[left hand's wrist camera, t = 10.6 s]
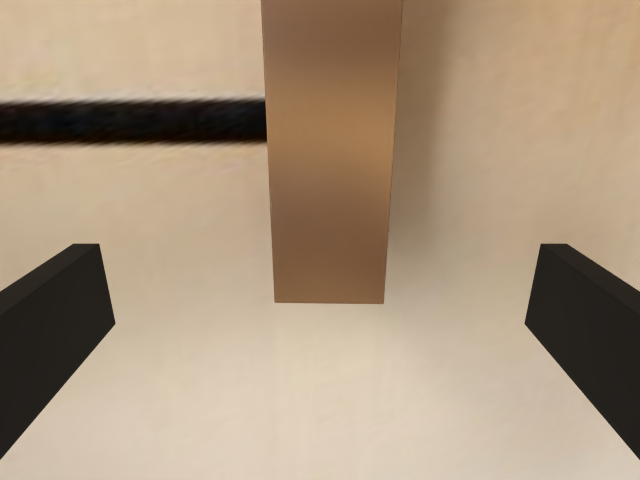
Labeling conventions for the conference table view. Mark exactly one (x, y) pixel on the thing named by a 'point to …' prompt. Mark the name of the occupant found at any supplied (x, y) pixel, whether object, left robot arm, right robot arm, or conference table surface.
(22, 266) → the conference table surface
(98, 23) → the conference table surface
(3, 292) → the left robot arm
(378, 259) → the beam
